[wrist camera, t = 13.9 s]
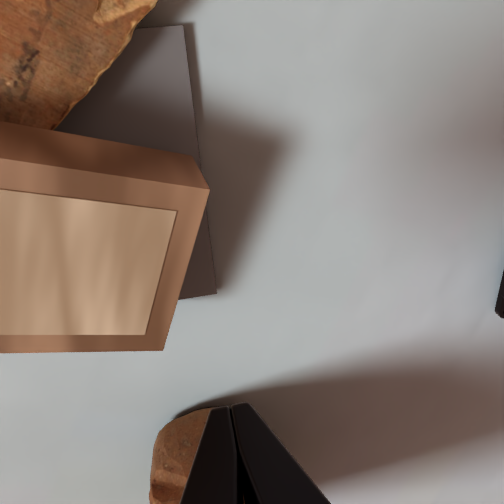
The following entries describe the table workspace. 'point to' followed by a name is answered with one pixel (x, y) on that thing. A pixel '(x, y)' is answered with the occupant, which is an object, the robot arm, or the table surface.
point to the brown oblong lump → (175, 456)
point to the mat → (150, 119)
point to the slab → (92, 241)
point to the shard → (59, 53)
